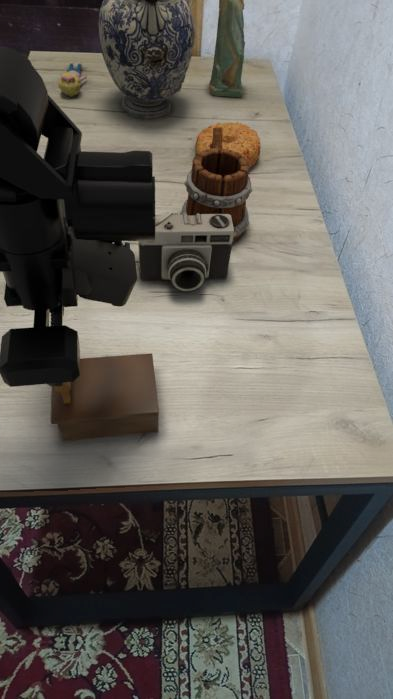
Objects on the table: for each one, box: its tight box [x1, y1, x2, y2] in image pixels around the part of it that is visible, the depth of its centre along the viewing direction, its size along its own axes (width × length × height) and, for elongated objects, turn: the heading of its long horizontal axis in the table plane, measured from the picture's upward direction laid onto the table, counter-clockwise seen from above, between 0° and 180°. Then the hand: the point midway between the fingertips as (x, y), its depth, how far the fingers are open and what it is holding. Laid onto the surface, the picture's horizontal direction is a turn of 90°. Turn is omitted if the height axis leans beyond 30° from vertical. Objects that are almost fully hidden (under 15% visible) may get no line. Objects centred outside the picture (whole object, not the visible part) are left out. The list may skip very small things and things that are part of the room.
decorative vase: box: [98, 0, 195, 120], centre depth 96 cm, size 21×19×28 cm
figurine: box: [58, 61, 88, 97], centre depth 110 cm, size 6×4×15 cm
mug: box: [178, 127, 253, 242], centre depth 80 cm, size 12×14×15 cm
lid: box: [50, 353, 160, 425], centre depth 56 cm, size 12×8×5 cm
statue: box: [209, 0, 246, 98], centre depth 104 cm, size 7×8×25 cm
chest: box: [56, 415, 160, 442], centre depth 60 cm, size 11×8×4 cm
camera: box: [137, 211, 234, 292], centre depth 72 cm, size 14×9×10 cm, turn 88°
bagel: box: [194, 121, 262, 169], centre depth 96 cm, size 13×14×5 cm
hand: (57, 348), depth 52 cm, fingers open, 9 cm apart
